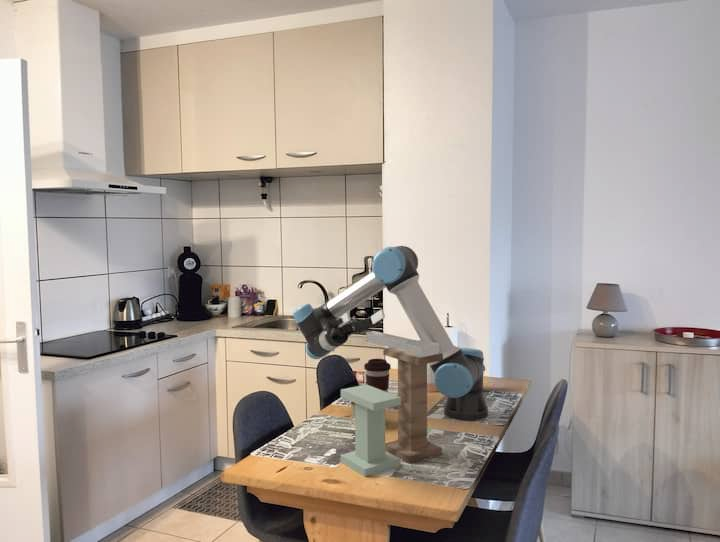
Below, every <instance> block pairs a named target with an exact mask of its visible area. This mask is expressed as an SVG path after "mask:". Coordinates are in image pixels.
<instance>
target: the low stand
mask: <svg viewBox="0 0 720 542" xmlns="http://www.w3.org/2000/svg"><path fill="white" fill-rule="evenodd" d="M340 397H341V398H343V399H345V400H347V401H350V402H351V401H352V402H354V403H355V418H354V431H355V432H354V438H355V439H354V441H355V442H354V443H355V445H354V447H355V448H354V449H355V450H354V451H350V452H347V453H342V454H340V463H342V464H343V465H345V466H346V467H349V468H350V469H351V470H352V471H355V472H356V473H358V474H360V475H362V476H363V477H368V476H372V475H374V474H378V473H382V472H384V471H389V470H392V469H396V468H399V467H401V466H402V465H401V461H402V460H401V459H400V458H398V457H396V456H394V455H392V454H390V453H388V452H386V451H385V443H386V409H388V408H392V407H398V405H401V397H398V395H395V394H393V393H391V392H385V391H382V390H380V389H377V388H375V387H372V386H369V385H366V384H361V385H356V386H351V387H347V388H341V389H340Z"/></svg>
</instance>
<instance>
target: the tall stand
mask: <svg viewBox="0 0 720 542" xmlns="http://www.w3.org/2000/svg"><path fill="white" fill-rule="evenodd" d="M382 355H383V356H386V357H389V358H393V359H396V360H397V396H398V397H401V405H398V406H397V440H393V441H389V442H385V451H386V452H388V453H390V454H392V455H394V456H396V457H398V458H400V459H401V461H403V462H405V463H407V464H409V465H410V464H412V463H416V462H419V461H423V460H427V459H429V458H434V457H437V456H440V455H442V454H443V453H442V452H443V451H442V450H443V448H442V446H439V445H437V444H434V443H433V442H430V441H428V392H427V364H428V363H433V362H439V361H443V354H442V353H439V354H437V355H432V356H426V357H417V356H413V355H409V354H405V353H404V351H402V350H398V349H394V348H390V347H383V353H382Z"/></svg>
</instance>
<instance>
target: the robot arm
mask: <svg viewBox="0 0 720 542" xmlns="http://www.w3.org/2000/svg"><path fill="white" fill-rule="evenodd" d="M418 267H419V258H418V256H417V254H416V252H415V251H414V250H413V249H412V248H410V247H408V246H406V245H398V246H397V245H396V246H386V247H384V248H382V249H380V250H378V252H377V253H376V254H375V255H374V256H373V259H372V262H371V269H372V270H371V272H369V273H367V274H366V275H365V276H363V277H362V278H361V279H359V280H358V281H356V282H354V283H353V284H351V285H350V286H349V287H347V288H345V290H342V291H341V292H340V293H338V294H337V295H335V296H334V297H332V298H331V299H329V300H328V301H327V302H325V303H324V304H322V305H321V306H319V307H316V308H315V307H314V308H313V306H312V305H311V304H310V303H306V304H303V305H302V306H300V307H298V308H296V309H294V311H293V312H292V316H293V318H294V321H295V323H296V324H297V326H298V329H299V330H300V332H301V333H302V336H303V338H305V342H306V345H305V353H306V354H307V356H308V357H309V358H311V359H313V360H319V359H322V358H324V357H326V356H327V355H329V354H330V353H331V352H335V349H338V348H339V347H341V346H342V345H344V344H345V343H347V342H348V340H349V337H350V336H351V335H352V334H356V335H359V334H361V332H364V331H367V330H369V329H372V328H374V327H376V326H379V325H380V321H381V320H383V319H384V318H386V315H385V312H384V309H383V308H381V309H380V310H378V311H377V312H376V313H375V312H374V314H371V316H370V317H368V318H366V319H363V320H360V321H357V322H355V321H353V322H350V321H351V316H350V311H352V310H353V309H355V308H356V307H358V306H359V305H361V304H362V303H364V302H366V301H367V300H368V299H370V298H372V297H373V296H375V295H376V294H378V293H380V292H382V290H384V289H385V288H386V290H387V291H388V293H389V294H393V295H395V296H396V298H397V300H398V302H399V304H400V305H401V307H402V309H403V311H404V312H405V314H406V316H407V319H409V321H410V324H411V325H412V327H413V329H414V331H415V333H416V334H417V336H418V338H419V340H426V341H430V342H435V343H439V353H442V354H443V361H439V362H433V363H430V364H429V365H430V367H431V369H432V371H433V372H434V374H435V376H434V382H435V385H436V388H437V389H438V390H439V391H438V392H439V393H440V394H442V395H444V397H446V400H445V403H444V405H443V414H444V415H445V417H448V418H451V419H454V420H459V421H480V420H483V419H486V418H487V417H488V416H489V408H488V404H487V401H486V398H485V395H484V373H483V364H484V360H485V357H484V353H483V350H481V349H476V348H468V347H467V348H464V347H459V346H455V345H454V344H453V342H452V340H451V338H450V337H449V335H448V333H447V331H446V330H445V328H444V325H443V324H442V321H440V319H439V316H438V315H437V314H436V312H435V310H434V309H433V306H432V305H431V303H430V301H429V300H428V298H427V295H426V294H425V292H424V290H423V288H422V286H421V285H420V283H419V279H420V274H419V273H418V271H417V270H418ZM324 327H325V328H324Z"/></svg>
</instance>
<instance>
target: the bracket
mask: <svg viewBox="0 0 720 542" xmlns="http://www.w3.org/2000/svg"><path fill="white" fill-rule="evenodd" d="M365 342H366V343H371V344H375V345H378V346H381V347H382V346H383V347H385V348H387V347H390V348H394V349H398V350H402V351H404V353H405V354H409V355H413V356H417V357H426V356H432V355H437V354H439V343H435V342H430V341H426V340H421V339H419V340H416V339H411V338H408V337H403V336H398V335H393V334H389V333H385V332H381V331H376V330H371V331H370V330H369V331H366V332H365Z"/></svg>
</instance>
